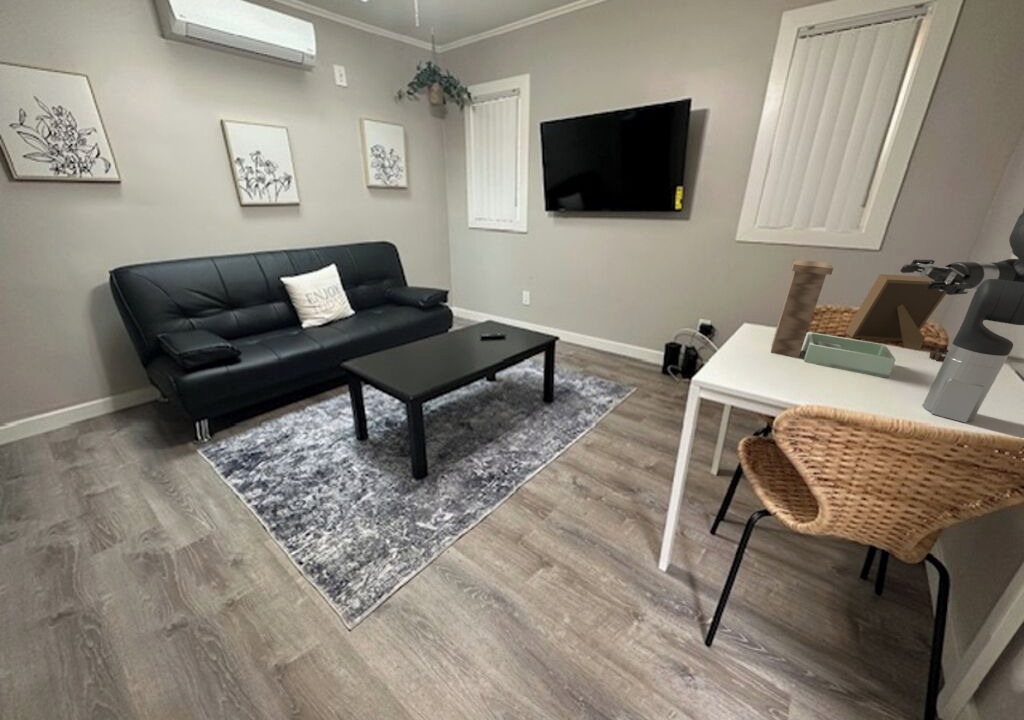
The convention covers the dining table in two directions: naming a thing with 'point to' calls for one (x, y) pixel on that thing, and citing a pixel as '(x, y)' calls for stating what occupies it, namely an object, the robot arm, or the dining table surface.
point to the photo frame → (896, 310)
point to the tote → (849, 355)
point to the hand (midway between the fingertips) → (914, 276)
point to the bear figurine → (938, 355)
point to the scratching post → (799, 306)
